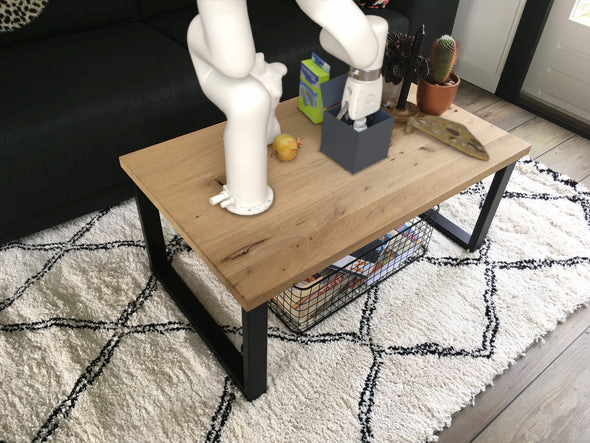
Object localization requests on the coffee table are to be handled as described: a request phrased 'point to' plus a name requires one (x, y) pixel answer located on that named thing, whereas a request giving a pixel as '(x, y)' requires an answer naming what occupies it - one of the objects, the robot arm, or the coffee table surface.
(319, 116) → the box
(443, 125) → the decorative stone
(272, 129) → the torso sculpture
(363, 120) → the pill bottle
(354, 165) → the carton
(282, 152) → the fruit
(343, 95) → the robot arm
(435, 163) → the coffee table surface
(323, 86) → the flap
